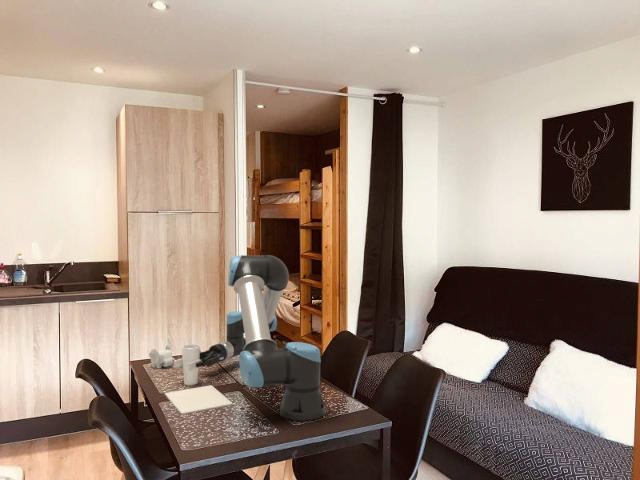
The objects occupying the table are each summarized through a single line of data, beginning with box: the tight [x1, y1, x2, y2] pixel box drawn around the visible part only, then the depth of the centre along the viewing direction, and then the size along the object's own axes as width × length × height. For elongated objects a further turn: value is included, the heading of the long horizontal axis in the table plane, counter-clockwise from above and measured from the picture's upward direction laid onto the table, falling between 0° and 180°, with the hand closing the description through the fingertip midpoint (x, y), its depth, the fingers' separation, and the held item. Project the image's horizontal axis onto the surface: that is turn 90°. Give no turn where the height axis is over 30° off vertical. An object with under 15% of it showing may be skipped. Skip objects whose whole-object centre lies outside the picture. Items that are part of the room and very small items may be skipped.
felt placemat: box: [164, 385, 233, 416], centre depth 180 cm, size 22×18×1 cm
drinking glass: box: [181, 343, 201, 387], centre depth 196 cm, size 7×7×15 cm
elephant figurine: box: [148, 344, 176, 369], centre depth 218 cm, size 10×12×9 cm
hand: (181, 365), depth 192 cm, fingers closed on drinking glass, 7 cm apart
